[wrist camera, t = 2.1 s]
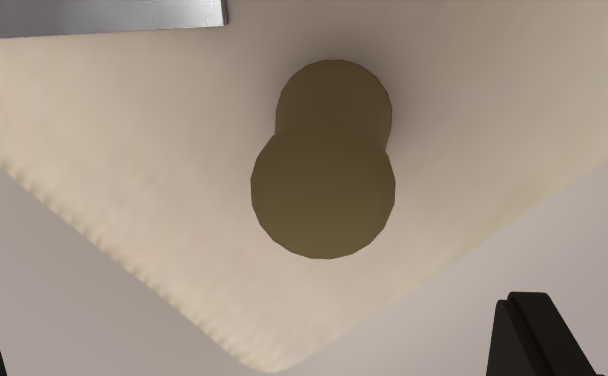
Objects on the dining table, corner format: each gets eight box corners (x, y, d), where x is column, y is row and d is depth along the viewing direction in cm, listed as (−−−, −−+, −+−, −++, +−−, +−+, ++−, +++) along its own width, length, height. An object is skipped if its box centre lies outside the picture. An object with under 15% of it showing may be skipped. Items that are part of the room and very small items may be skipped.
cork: (385, 50, 26) (402, 108, 16) (398, 164, 28) (419, 278, 18) (265, 69, 27) (211, 135, 17) (287, 178, 29) (250, 293, 19)
